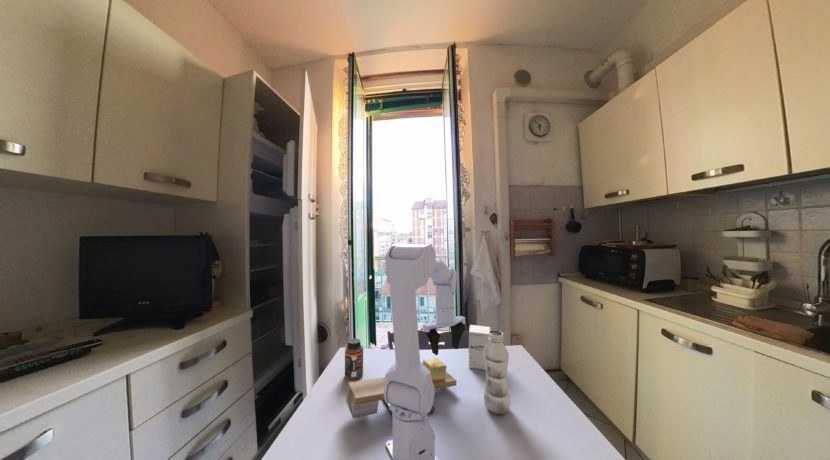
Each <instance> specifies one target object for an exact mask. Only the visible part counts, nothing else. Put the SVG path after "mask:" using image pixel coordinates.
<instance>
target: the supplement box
mask: <svg viewBox="0 0 830 460" xmlns="http://www.w3.org/2000/svg"><path fill="white" fill-rule="evenodd" d="M468 331H469V332H468V368H469V369H478V370H482V371H486V366H485V359H484V348H485V346H486V344H487V343H488V342H489V339H488V337H489V331H491V327H490V326H486V325H485V326H484V325H476V324H470V325H469V329H468Z"/></svg>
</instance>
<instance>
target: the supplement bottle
mask: <svg viewBox="0 0 830 460" xmlns="http://www.w3.org/2000/svg"><path fill="white" fill-rule="evenodd" d="M361 344H362V343H361V339H360V338H351V339H349V340H348V341H347V347H345V349H344V377H345V378H346V379H347V380H351V381H352V380H358V379H359V378H361V377H362V376H363V374H364V346H362V345H361Z"/></svg>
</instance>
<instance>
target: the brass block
mask: <svg viewBox="0 0 830 460" xmlns="http://www.w3.org/2000/svg"><path fill="white" fill-rule="evenodd" d="M422 364H423V365H424V366H425V367H426V368H427V369H428V370H429V371H430V372H431V377H432V382H437V381H443V380H445V376H446V372H447V368H448V367H447V365H446V364H445V363H444V362H442V361H441V360H440V359H439V358H427V359H423V360H422Z"/></svg>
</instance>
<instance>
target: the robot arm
mask: <svg viewBox="0 0 830 460" xmlns="http://www.w3.org/2000/svg"><path fill="white" fill-rule="evenodd" d="M384 259H385V272H386V282H387V283H388V284H389V286H390V287H389V289H390V301H391V304H390V305H391V315H392V316H391V317H392V330H393V341H394V342H393V343H394V357H395V362H393V363H392V364H391V365H390V366H389V368H388V369H387V371H386V372H385V374H384V377H385V386H384V399H385V402H386V403H388V404H389V409H388V410H389V411H390V410H391V411H392V413H391V416H392V419H391V420H392V425H391V426H392V434H391V435H392V436H391V437H392V439H388V440H387V441H386V442H385V447H386V449H387V451H388V453H389V455H390V457H391V459H392V460H439V458H438V456H437V455H436V442H435V441H436V437H435V436H436V435H435V430H434V429H433V428H434V427H432V425H431V423H430V421H429V420H428V419H429V418H428V415H427V414H428V413H429V412H430V410H431V408H432V406H433V405H434V400H435V389H434V384H433V382H432V377H431V372H430V371H429V370H428V369H427V368H426V367H425V366H424V365H423V362H421V357H420V356H421V355H420V341H419V325H418V324H419V323H418V312H417V311H418V310H417V307H418V306H417V297H416V296H417V293H416V291H417V289H420V288H422V287H425V286H426V284H427V283H428V281H429V279H431V280H432V285H433V286H435V319H433V320H432V321H428V322H427V323H426V322H425V323H423V331H424V333H425V335H426V336H427V339H428V341H429V343H430V349H431V353H432V354H433V355H435V356H439V342H440V337H441V333H439V332H438V330H439V329H444V328H450V331H451V332H450V333H451V346H452V348H454V349H455V350H458V349H459V346H460V342H461V339H462V337H463V333H464V332H465V330H466V326H465V324H466V317H465V316H462V315H459V316H455V292H456V289H457V288H456V285H457V278H458V277H457V271H456V269H454V268H453V267H449V266H448V265H447V264H446V263H445V262H444V261H443V259H442V258H440V257H437V254H436V249H435V248H434V246H433V245H432V244H431V243H429V244H398V243H393V244H391V245H390V247H389V248H388V250H387V253H386V255H385V257H384ZM385 402H384V403H385Z"/></svg>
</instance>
